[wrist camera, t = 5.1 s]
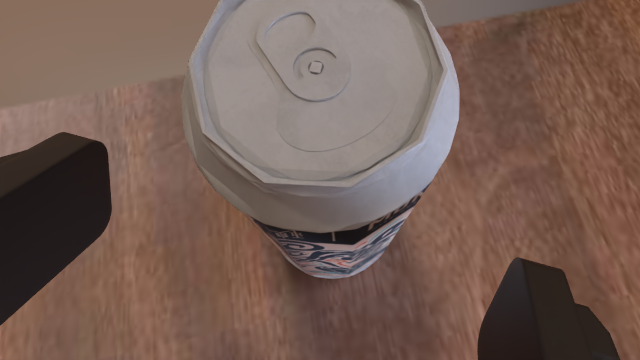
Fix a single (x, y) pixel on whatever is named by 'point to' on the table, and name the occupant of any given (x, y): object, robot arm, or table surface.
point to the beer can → (321, 121)
